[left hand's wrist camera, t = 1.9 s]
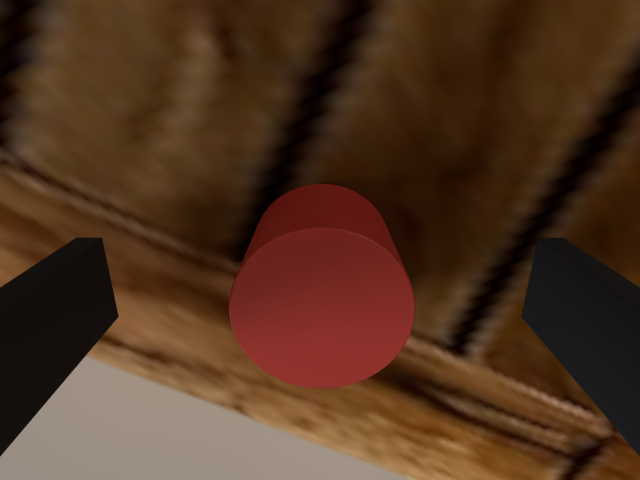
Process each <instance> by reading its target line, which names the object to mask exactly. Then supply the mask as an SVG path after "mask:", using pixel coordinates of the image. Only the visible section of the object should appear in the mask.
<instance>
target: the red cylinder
mask: <svg viewBox="0 0 640 480" xmlns="http://www.w3.org/2000/svg"><path fill="white" fill-rule="evenodd" d="M229 316H230V322H231V326H232V329H233V332H234V335H235V337H236V339H237V341H238V343H239V345H240V346H241V348H242V349H243V351H244V352H245V353H246V355H247V356H248V357H249V358H250V359H251V360H252V361H253V362H254V363H255V364H256V365H257V366H259V367H260V368H261V369H262V370H264V371H265V372H267V373H269V374H270V375H272V376H274V377H276V378H278V379H280V380H282V381H285V382H288V383H291V384H294V385H299V386H303V387H311V388H334V387H341V386H346V385H350V384H353V383H356V382H359V381H362V380H364V379H366V378H369V377H370V376H372V375H374V374H376V373H377V372H379V371H380V370H382V369H383V368H384V367H386V366H387V365H388V364H389V363H390V362H391V361H392V360H393V359H394V358H395V357H396V356H397V355H398V354H399V352H400V351H401V350H402V348H403V347H404V345H405V343H406V342H407V340H408V337H409V335H410V333H411V330H412V326H413V323H414V317H415V298H414V292H413V288H412V285H411V282H410V279H409V277H408V275H407V272H406V270H405V268H404V265H403V263H402V261H401V259H400V256H399V254H398V252H397V249H396V247H395V245H394V242H393V240H392V238H391V235H390V233H389V231H388V228H387V226H386V224H385V222H384V220H383V218H382V216H381V214H380V213H379V212H378V210H377V209H376V208H375V207H374V206H373V205H372V204H371V202H369V201H368V200H367V199H366V198H364V197H363V196H362V195H360V194H358V193H357V192H355V191H353V190H350V189H348V188H345V187H342V186H338V185H332V184H312V185H306V186H302V187H299V188H296V189H293V190H291V191H289V192H287V193H285V194H284V195H282V196H281V197H279V198H278V199H277V200H275V201H274V202H273V203H272V204H271V205H270V206H269V207H268V209H267V210H266V211H265V213H264V214H263V216H262V217H261V219H260V221H259V223H258V226H257V228H256V230H255V233H254V235H253V238H252V240H251V242H250V245H249V247H248V249H247V252H246V254H245V256H244V259H243V261H242V264H241V266H240V268H239V271H238V273H237V275H236V278H235V280H234V283H233V285H232V289H231V293H230V299H229Z"/></svg>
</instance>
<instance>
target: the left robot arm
mask: <svg viewBox="0 0 640 480" xmlns="http://www.w3.org/2000/svg"><path fill="white" fill-rule="evenodd" d="M118 317H119V316H118V312H117V307H116V302H115V298H114V293H113V288H112V283H111V279H110V274H109V269H108V264H107V260H106V255H105V250H104V245H103V241H102V238H75V239H74V240H72V241H71V242H69V243H68V244H66V245H65V246H63V247H62V248H60V249H59V250H57V251H55V252H54V253H52V254H51V255H49V256H48V257H46V258H45V259H43V260H42V261H40V262H39V263H37V264H36V265H34V266H32V267H31V268H29V269H28V270H26V271H25V272H23V273H22V274H20V275H19V276H17V277H16V278H14V279H13V280H11V281H10V282H8V283H6V284H5V285H3V286H2V287H0V456H1V455H2V454H3V453H4V451H5V450H6V449H7V448H8V447H9V445H10V444H11V443H12V442H13V441H14V440H15V438H16V437H17V436H18V435H19V434H20V432H21V431H22V430H23V429H24V428H25V427H26V425H27V424H28V423H29V422H30V421H31V420H32V418H33V417H34V416H35V415H36V414H37V412H38V411H39V410H40V409H41V408H42V407H43V405H44V404H45V403H46V402H47V400H48V399H49V398H50V397H51V396H52V395H53V393H54V392H55V391H56V390H57V389H58V388H59V386H60V385H61V384H62V383H63V382H64V381H65V379H66V378H67V377H68V376H69V375H70V373H71V372H72V371H73V370H74V369H75V368H76V366H77V365H78V364H79V363H80V362H81V360H82V359H83V358H84V357H85V356H86V355H87V353H88V352H89V351H90V350H91V349H92V347H93V346H94V345H95V344H96V343H97V342H98V340H99V339H100V338H101V337H102V336H103V334H104V333H105V332H106V331H107V330H108V329H109V327H110V326H111V325H112V324H113V323H114V321H115V320H116V319H117V318H118ZM521 317H522V318H523V319H524V320H525V321H526V323H527V324H528V325H529V326H530V327H531V329H532V330H533V331H534V332H535V333H536V334H537V336H538V337H539V338H540V339H541V340H542V342H543V343H544V344H545V345H546V346H547V347H548V349H549V350H550V351H551V352H552V353H553V355H554V356H555V357H556V358H557V359H558V360H559V362H560V363H561V364H562V365H563V366H564V368H565V369H566V370H567V371H568V372H569V373H570V375H571V376H572V377H573V378H574V379H575V381H576V382H577V383H578V384H579V385H580V386H581V388H582V389H583V390H584V391H585V392H586V394H587V395H588V396H589V397H590V398H591V399H592V401H593V402H594V403H595V404H596V405H597V407H598V408H599V409H600V410H601V411H602V412H603V414H604V415H605V416H606V417H607V418H608V420H609V421H610V422H611V423H612V424H613V425H614V427H615V428H616V429H617V430H618V431H619V433H620V434H621V435H622V436H623V437H624V438H625V440H626V441H627V442H628V443H629V444H630V446H631V447H632V448H633V449H634V450H635V451H636V453H637V454H638V455H639V456H640V287H638V286H637V285H635V284H634V283H632V282H630V281H629V280H627V279H626V278H624V277H623V276H621V275H620V274H618V273H617V272H615V271H614V270H612V269H611V268H609V267H608V266H606V265H604V264H603V263H601V262H600V261H598V260H597V259H595V258H594V257H592V256H591V255H589V254H588V253H586V252H585V251H583V250H581V249H580V248H578V247H577V246H575V245H574V244H572V243H571V242H569V241H568V240H566V239H565V238H538V241H537V245H536V250H535V255H534V260H533V264H532V269H531V274H530V279H529V283H528V288H527V293H526V297H525V302H524V307H523V312H522V316H521Z"/></svg>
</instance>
